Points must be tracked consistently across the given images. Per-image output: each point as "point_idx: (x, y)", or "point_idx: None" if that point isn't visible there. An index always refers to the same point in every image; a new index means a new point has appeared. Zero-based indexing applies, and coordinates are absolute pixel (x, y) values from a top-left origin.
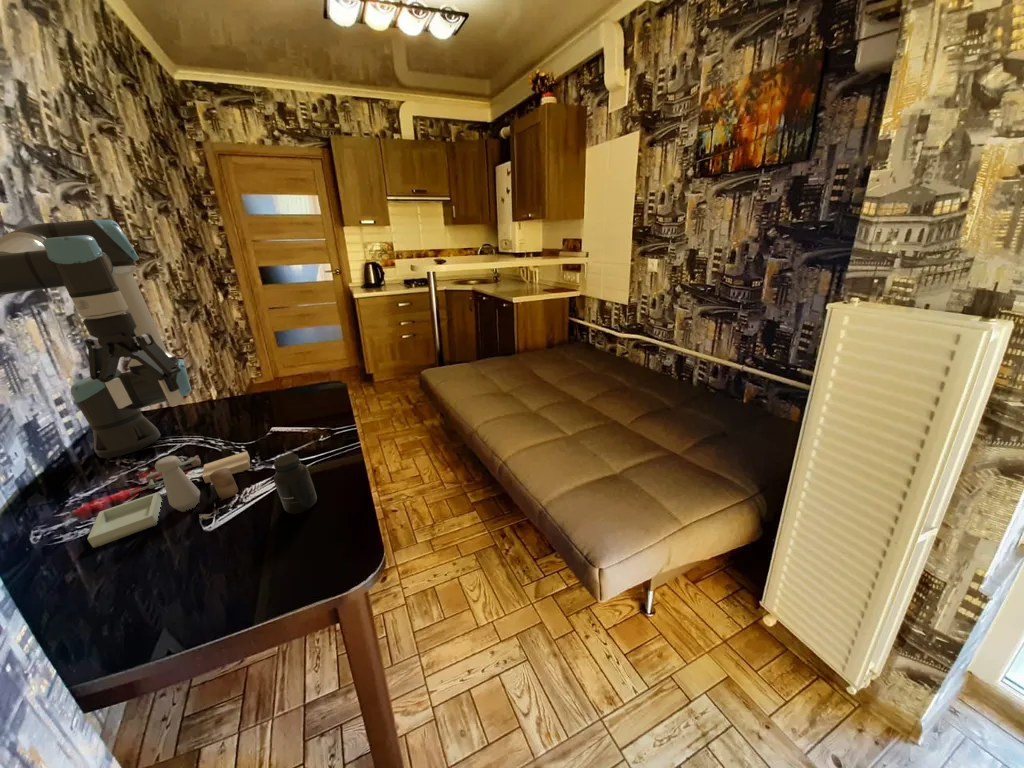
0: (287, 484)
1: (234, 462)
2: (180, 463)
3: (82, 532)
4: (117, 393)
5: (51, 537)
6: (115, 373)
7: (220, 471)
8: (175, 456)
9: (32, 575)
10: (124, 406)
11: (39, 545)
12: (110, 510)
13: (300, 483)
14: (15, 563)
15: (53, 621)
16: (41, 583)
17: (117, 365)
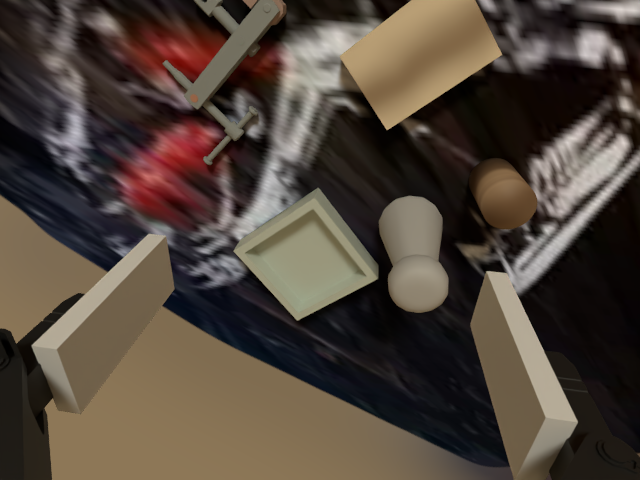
0: None
1: (450, 53)
2: (238, 34)
3: (230, 266)
4: (129, 327)
5: (180, 271)
6: (25, 390)
7: (508, 199)
8: (436, 275)
9: (257, 344)
10: (169, 273)
11: (183, 287)
12: (252, 246)
13: None
14: (194, 319)
15: (382, 410)
16: (291, 358)
17: (23, 471)
